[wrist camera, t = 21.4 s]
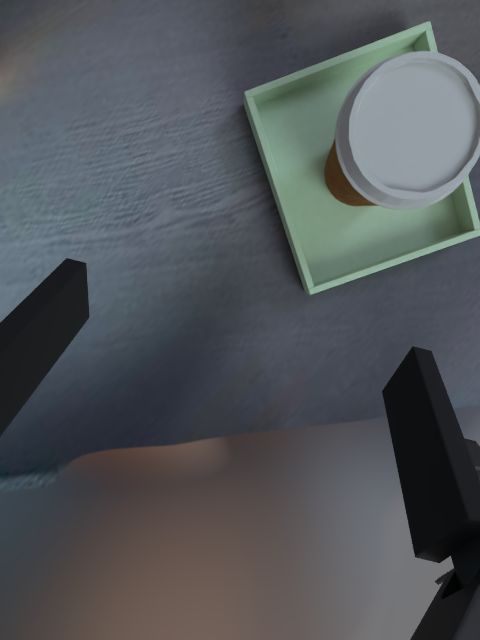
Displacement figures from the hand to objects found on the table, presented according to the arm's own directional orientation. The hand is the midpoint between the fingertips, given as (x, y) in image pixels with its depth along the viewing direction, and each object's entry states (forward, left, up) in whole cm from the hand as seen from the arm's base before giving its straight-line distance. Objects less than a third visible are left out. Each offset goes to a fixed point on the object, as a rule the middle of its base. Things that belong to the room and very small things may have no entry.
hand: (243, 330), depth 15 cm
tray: (-8, +13, -22) cm, 27 cm away
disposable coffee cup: (-8, +13, -22) cm, 27 cm away
